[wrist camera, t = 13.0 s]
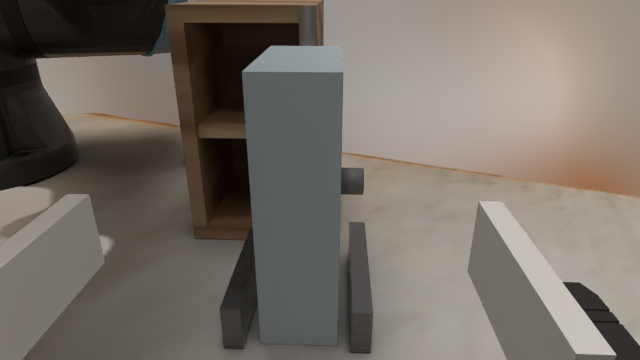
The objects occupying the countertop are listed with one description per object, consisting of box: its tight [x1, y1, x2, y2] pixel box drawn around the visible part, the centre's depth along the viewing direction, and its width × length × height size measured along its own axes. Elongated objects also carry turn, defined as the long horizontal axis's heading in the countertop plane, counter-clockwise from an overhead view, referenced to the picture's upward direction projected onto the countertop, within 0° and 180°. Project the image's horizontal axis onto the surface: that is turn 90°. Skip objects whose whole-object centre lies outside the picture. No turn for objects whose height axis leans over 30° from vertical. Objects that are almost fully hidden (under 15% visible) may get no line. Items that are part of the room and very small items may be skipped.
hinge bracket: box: [220, 222, 373, 353], centre depth 26 cm, size 9×8×2 cm
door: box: [242, 46, 364, 346], centre depth 24 cm, size 8×5×14 cm, turn 178°
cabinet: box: [165, 0, 323, 240], centre depth 33 cm, size 11×9×16 cm
